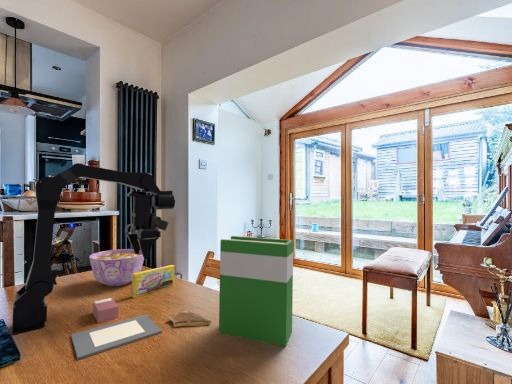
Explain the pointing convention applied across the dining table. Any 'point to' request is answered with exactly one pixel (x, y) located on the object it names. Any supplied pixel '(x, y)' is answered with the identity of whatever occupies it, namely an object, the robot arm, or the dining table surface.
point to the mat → (113, 335)
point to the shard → (188, 319)
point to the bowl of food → (116, 266)
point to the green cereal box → (256, 289)
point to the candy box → (152, 280)
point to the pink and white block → (105, 310)
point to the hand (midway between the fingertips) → (141, 256)
